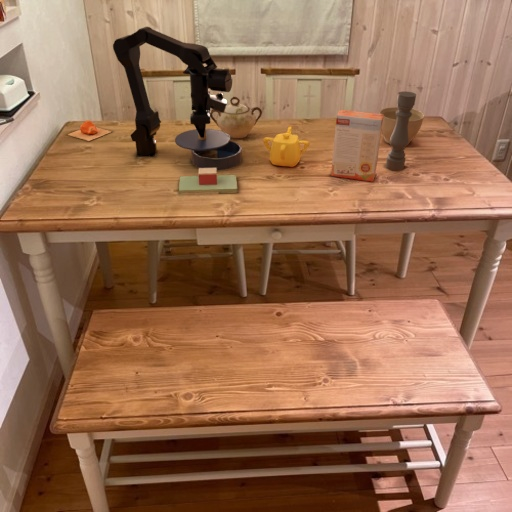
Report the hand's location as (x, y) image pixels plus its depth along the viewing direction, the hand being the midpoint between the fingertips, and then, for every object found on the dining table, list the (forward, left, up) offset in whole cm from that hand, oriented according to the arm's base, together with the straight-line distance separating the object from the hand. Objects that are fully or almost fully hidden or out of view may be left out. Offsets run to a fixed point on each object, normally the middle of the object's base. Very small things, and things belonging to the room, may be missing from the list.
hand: (202, 135), depth 173 cm
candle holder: (+65, -7, -10) cm, 67 cm away
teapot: (+28, 0, -10) cm, 30 cm away
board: (+1, -18, -10) cm, 20 cm away
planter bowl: (+73, +16, -10) cm, 76 cm away
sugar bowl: (+12, +26, -10) cm, 31 cm away
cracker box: (+49, -13, -10) cm, 52 cm away
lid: (0, 0, -1) cm, 1 cm away
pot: (+4, +2, -10) cm, 11 cm away
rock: (-45, +32, -10) cm, 55 cm away
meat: (+1, -17, -9) cm, 20 cm away
